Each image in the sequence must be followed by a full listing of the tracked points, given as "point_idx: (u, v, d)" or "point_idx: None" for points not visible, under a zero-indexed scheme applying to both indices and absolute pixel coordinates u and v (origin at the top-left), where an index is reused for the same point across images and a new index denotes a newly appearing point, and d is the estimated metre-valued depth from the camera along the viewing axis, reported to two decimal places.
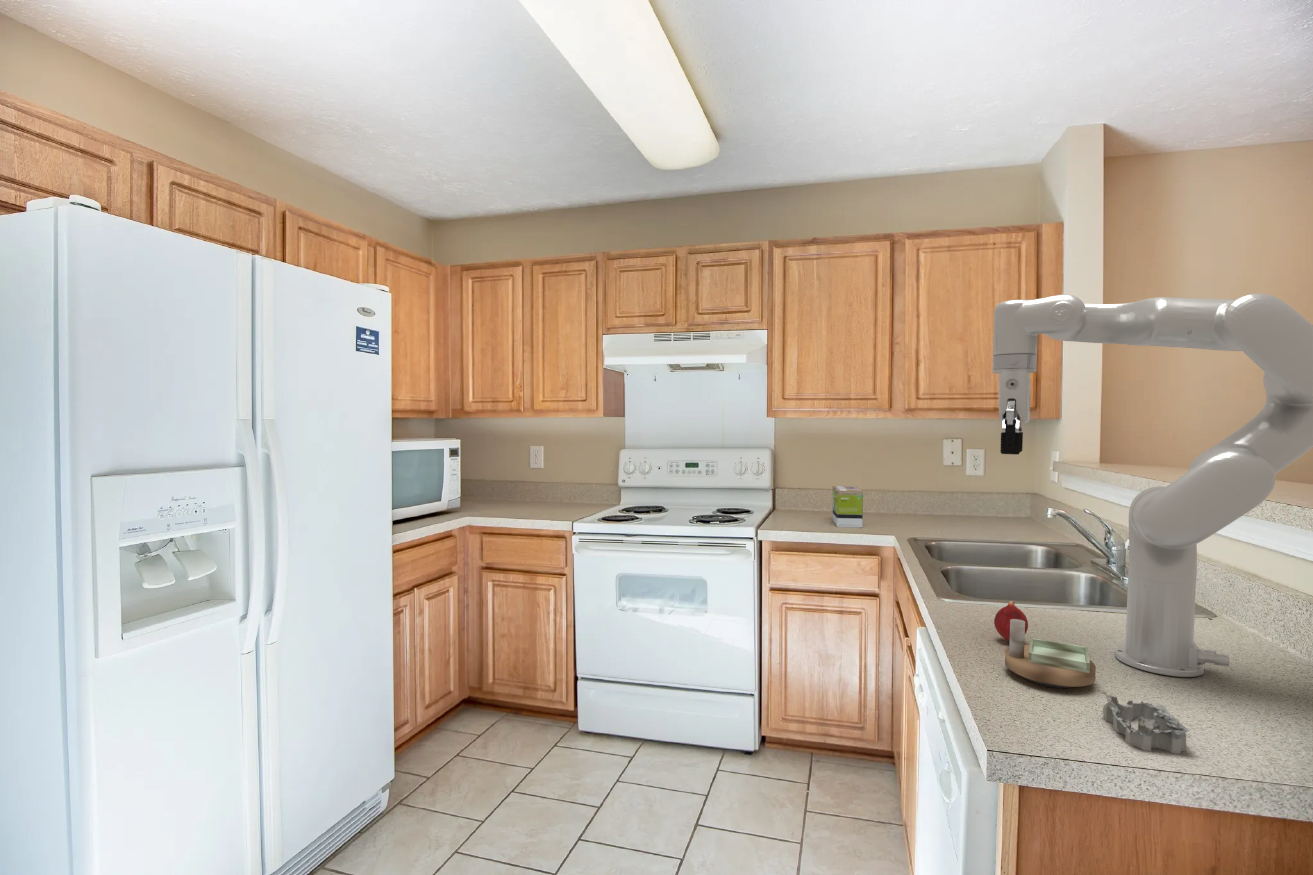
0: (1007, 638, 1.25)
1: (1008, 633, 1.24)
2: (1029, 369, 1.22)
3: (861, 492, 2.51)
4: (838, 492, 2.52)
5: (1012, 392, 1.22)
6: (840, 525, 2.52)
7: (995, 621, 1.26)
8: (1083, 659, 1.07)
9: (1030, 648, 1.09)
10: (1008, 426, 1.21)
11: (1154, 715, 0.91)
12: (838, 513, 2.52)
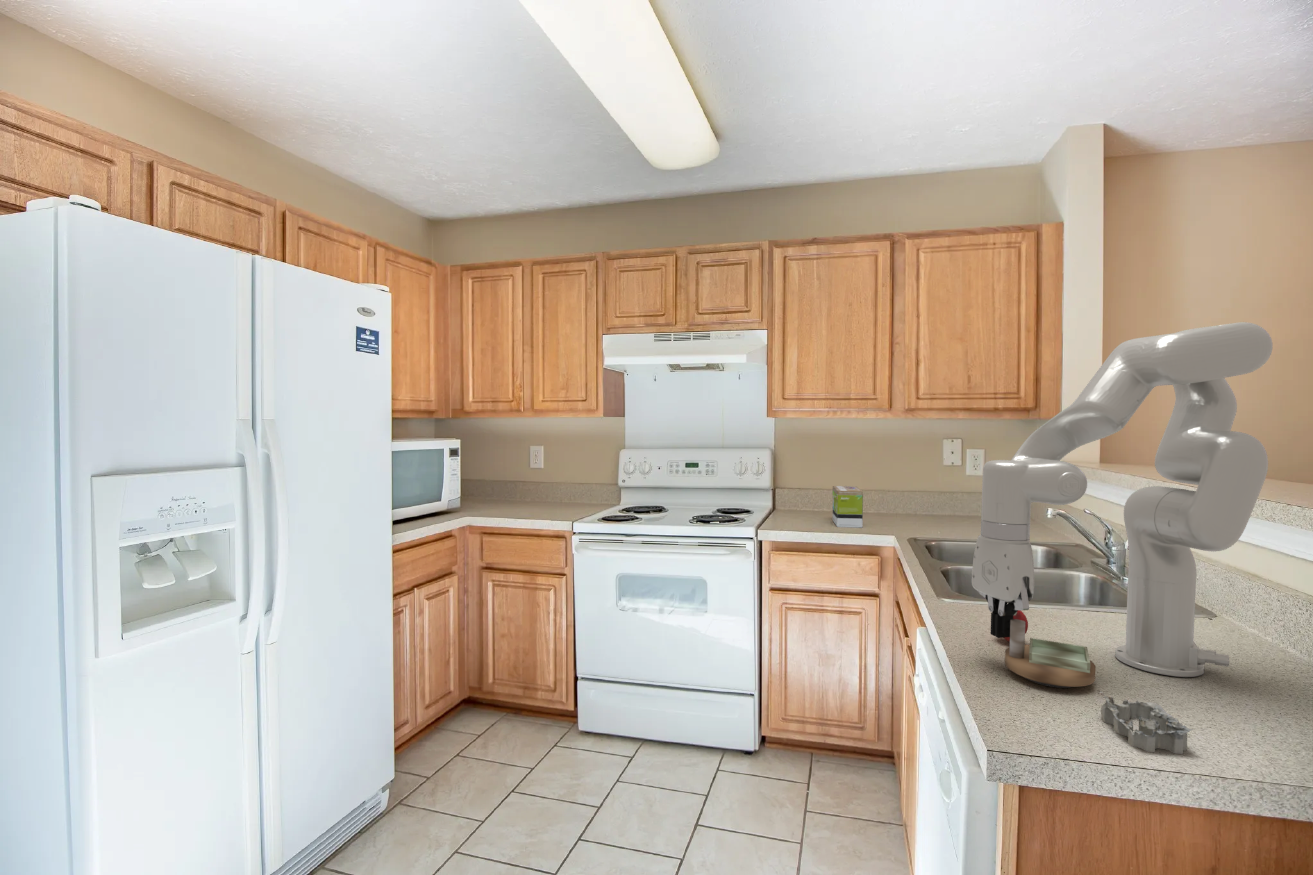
0: (1007, 638, 1.25)
1: None
2: (980, 535, 1.14)
3: (861, 492, 2.51)
4: (838, 492, 2.52)
5: None
6: (840, 525, 2.52)
7: None
8: (1083, 659, 1.08)
9: (1030, 648, 1.09)
10: None
11: (1151, 714, 0.91)
12: (838, 513, 2.52)
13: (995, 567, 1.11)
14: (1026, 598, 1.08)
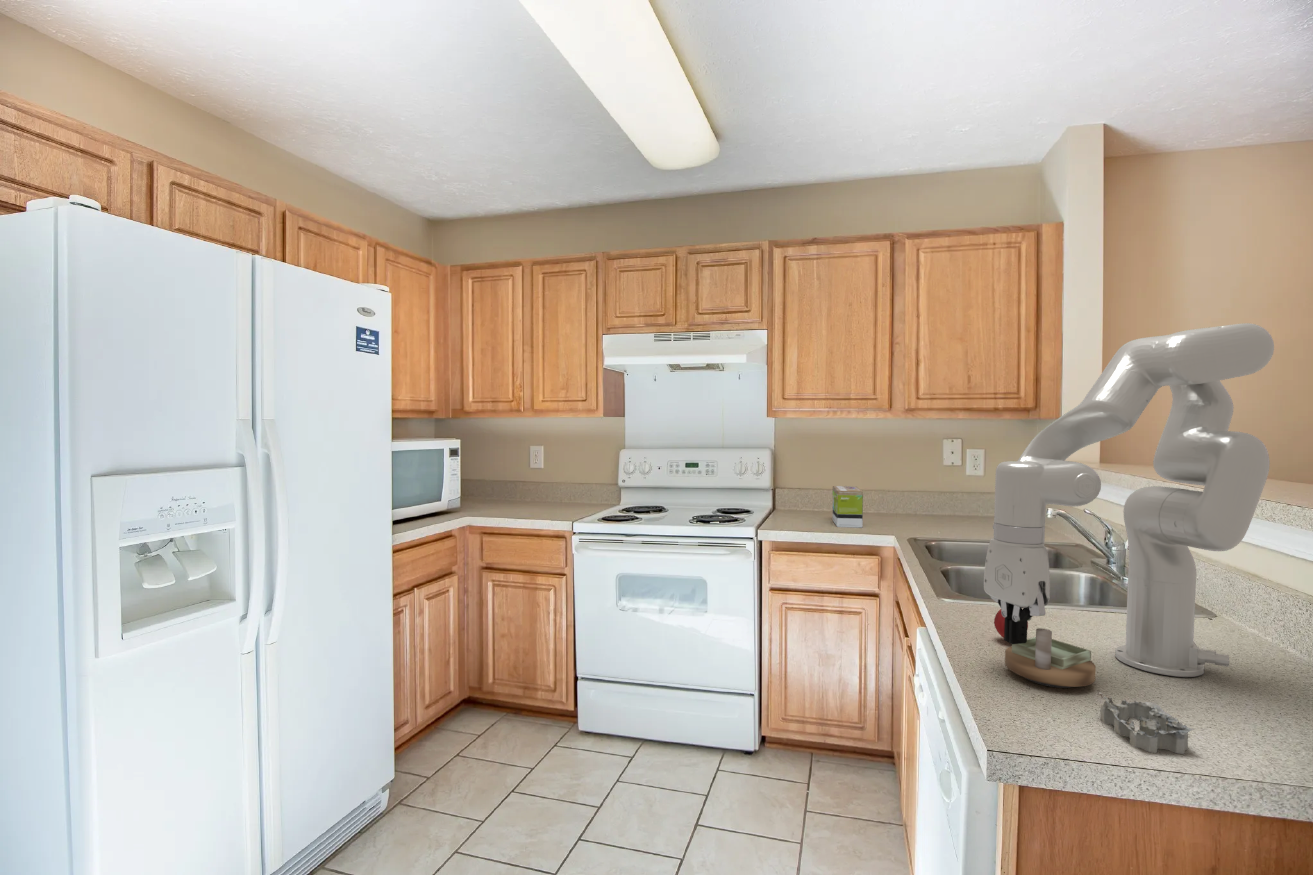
0: None
1: None
2: (993, 538, 1.11)
3: (861, 492, 2.51)
4: (838, 492, 2.52)
5: None
6: (840, 525, 2.52)
7: (995, 621, 1.26)
8: (1057, 648, 1.12)
9: None
10: None
11: (1150, 714, 0.91)
12: (838, 513, 2.52)
13: (1010, 571, 1.08)
14: (1042, 603, 1.05)
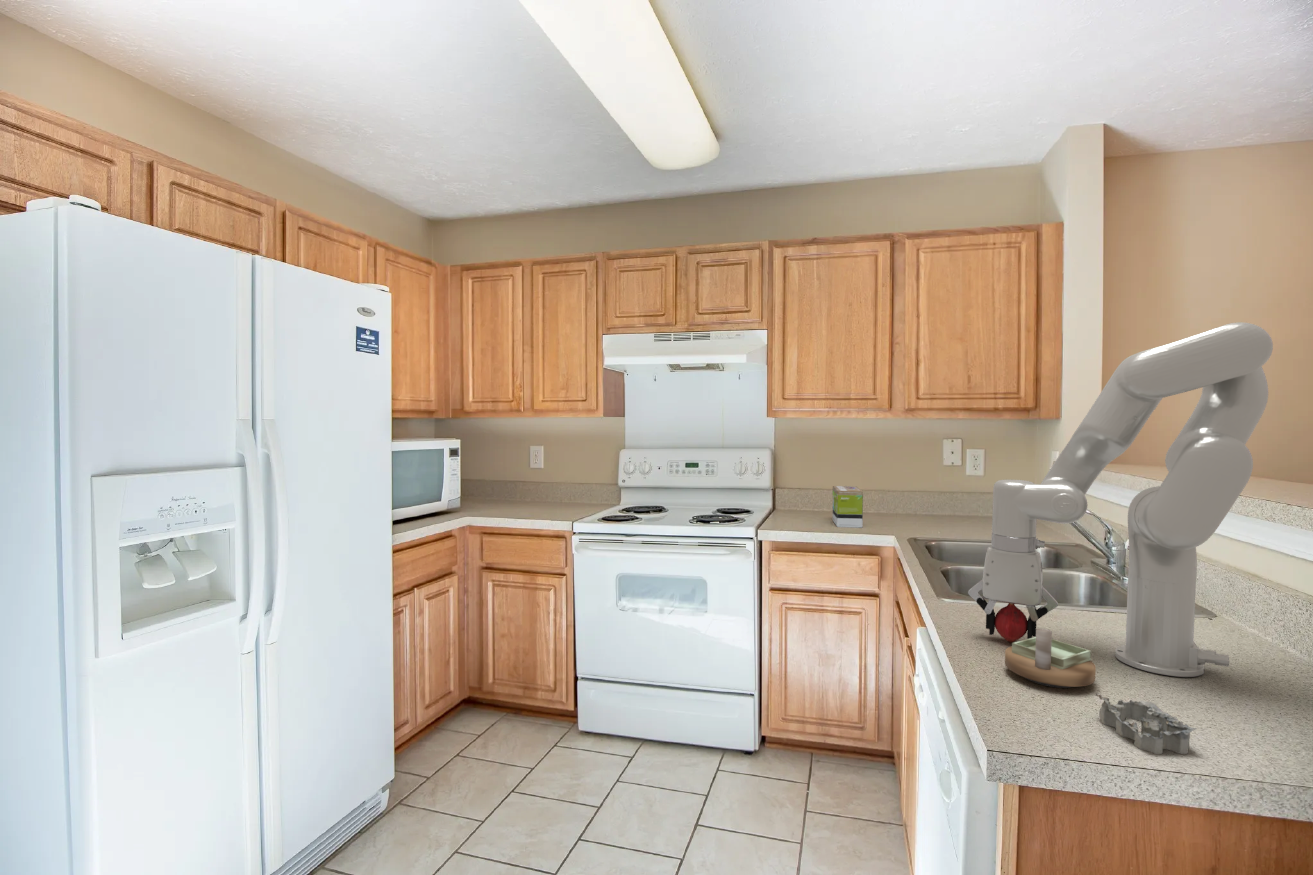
0: (1007, 638, 1.25)
1: (1008, 633, 1.24)
2: None
3: (861, 492, 2.51)
4: (838, 492, 2.52)
5: (1042, 575, 1.23)
6: (840, 525, 2.52)
7: (995, 621, 1.26)
8: (1057, 648, 1.12)
9: None
10: None
11: (1148, 714, 0.92)
12: (838, 513, 2.52)
13: None
14: None
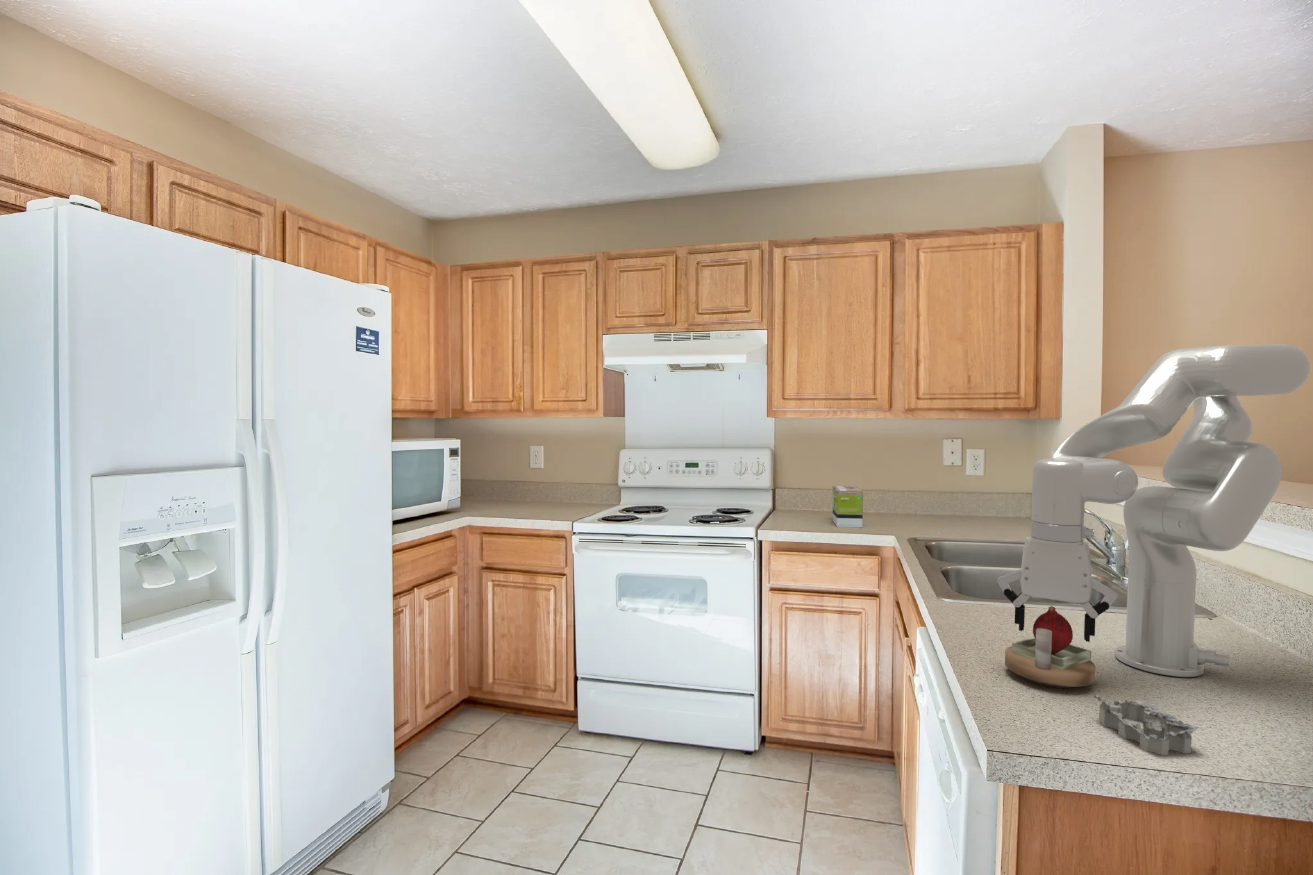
0: None
1: None
2: None
3: (861, 492, 2.51)
4: (838, 492, 2.52)
5: None
6: (840, 525, 2.52)
7: (1034, 630, 1.10)
8: None
9: None
10: None
11: (1146, 714, 0.92)
12: (838, 513, 2.52)
13: None
14: None
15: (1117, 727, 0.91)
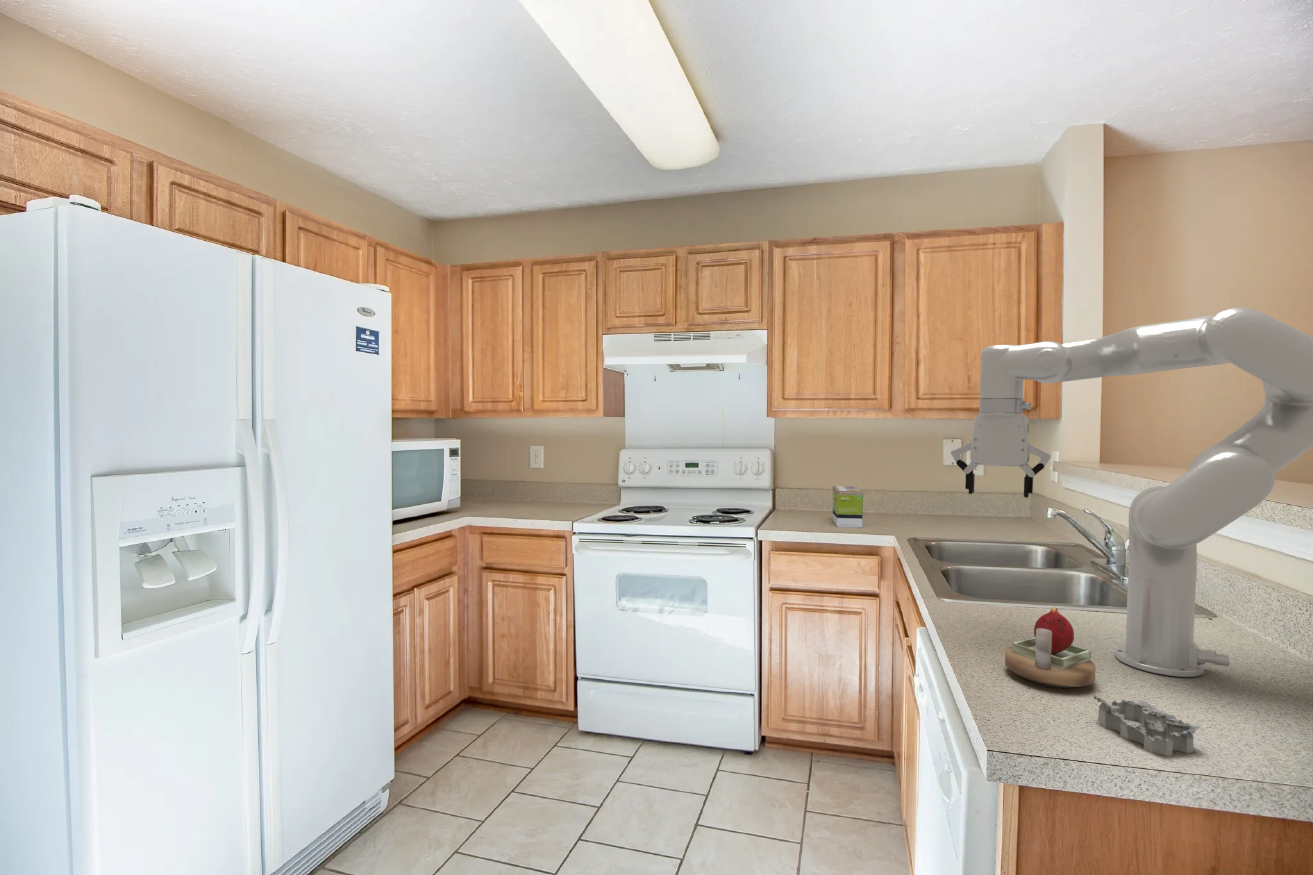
0: None
1: None
2: None
3: (861, 492, 2.51)
4: (838, 492, 2.52)
5: (1028, 436, 1.25)
6: (840, 525, 2.52)
7: (1035, 630, 1.10)
8: None
9: None
10: None
11: (1144, 713, 0.92)
12: (838, 513, 2.52)
13: None
14: None
15: (1118, 728, 0.91)
